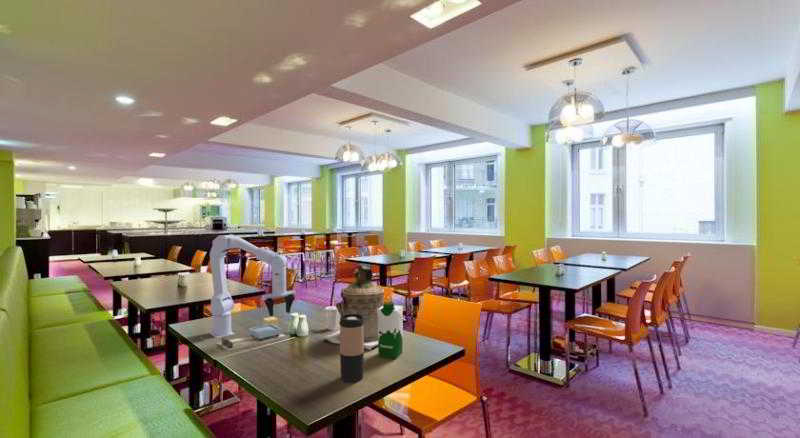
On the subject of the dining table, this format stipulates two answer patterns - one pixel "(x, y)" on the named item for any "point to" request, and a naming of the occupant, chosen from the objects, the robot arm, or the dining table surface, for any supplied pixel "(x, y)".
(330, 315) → the smoothie
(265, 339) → the track
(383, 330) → the milk carton
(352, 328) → the travel mug
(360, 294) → the cookie jar
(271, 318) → the ochre block
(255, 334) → the blue square tray
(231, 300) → the robot arm
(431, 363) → the dining table surface
